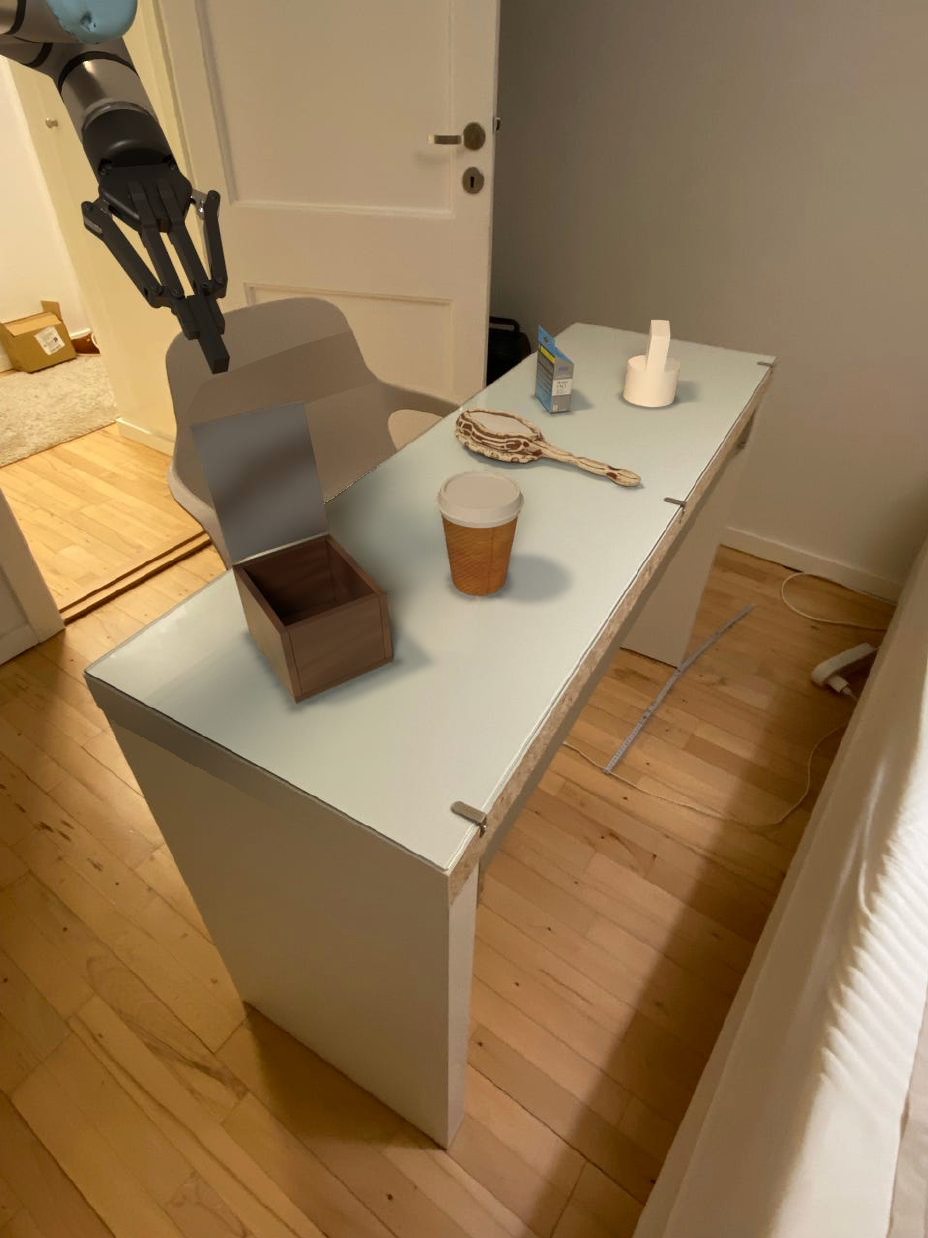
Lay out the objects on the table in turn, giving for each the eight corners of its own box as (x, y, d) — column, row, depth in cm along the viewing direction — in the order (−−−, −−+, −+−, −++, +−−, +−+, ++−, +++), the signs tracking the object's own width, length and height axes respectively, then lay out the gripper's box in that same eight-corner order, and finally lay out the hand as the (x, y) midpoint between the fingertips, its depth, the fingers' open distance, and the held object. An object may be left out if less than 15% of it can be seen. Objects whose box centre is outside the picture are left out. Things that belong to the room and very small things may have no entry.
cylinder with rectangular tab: (623, 385, 127) (633, 318, 119) (673, 389, 126) (686, 321, 118) (622, 404, 120) (633, 334, 113) (674, 408, 119) (689, 337, 111)
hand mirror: (628, 490, 92) (439, 423, 101) (621, 521, 96) (441, 455, 106) (657, 445, 97) (474, 386, 107) (649, 476, 102) (475, 417, 111)
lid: (303, 400, 64) (300, 399, 65) (190, 427, 60) (188, 425, 60) (330, 530, 71) (327, 528, 72) (231, 562, 67) (229, 560, 67)
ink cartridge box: (570, 412, 118) (577, 338, 110) (549, 414, 117) (555, 340, 109) (553, 392, 124) (559, 322, 117) (533, 394, 124) (537, 323, 116)
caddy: (393, 661, 70) (386, 593, 64) (295, 704, 65) (279, 634, 59) (339, 598, 78) (329, 533, 72) (249, 632, 73) (231, 565, 67)
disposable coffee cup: (445, 554, 84) (443, 465, 77) (522, 559, 83) (527, 471, 76) (431, 600, 77) (428, 508, 70) (515, 608, 76) (521, 515, 69)
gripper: (190, 162, 71) (280, 371, 71) (53, 172, 65) (151, 399, 65) (192, 100, 64) (292, 331, 64) (40, 105, 58) (149, 359, 58)
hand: (221, 365), depth 64 cm, fingers closed
